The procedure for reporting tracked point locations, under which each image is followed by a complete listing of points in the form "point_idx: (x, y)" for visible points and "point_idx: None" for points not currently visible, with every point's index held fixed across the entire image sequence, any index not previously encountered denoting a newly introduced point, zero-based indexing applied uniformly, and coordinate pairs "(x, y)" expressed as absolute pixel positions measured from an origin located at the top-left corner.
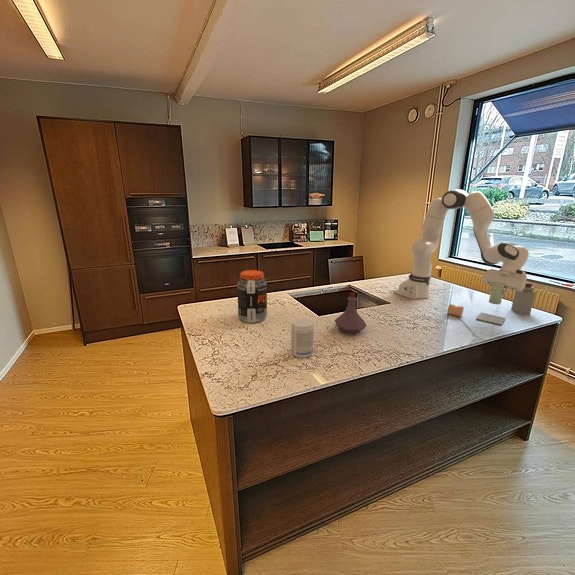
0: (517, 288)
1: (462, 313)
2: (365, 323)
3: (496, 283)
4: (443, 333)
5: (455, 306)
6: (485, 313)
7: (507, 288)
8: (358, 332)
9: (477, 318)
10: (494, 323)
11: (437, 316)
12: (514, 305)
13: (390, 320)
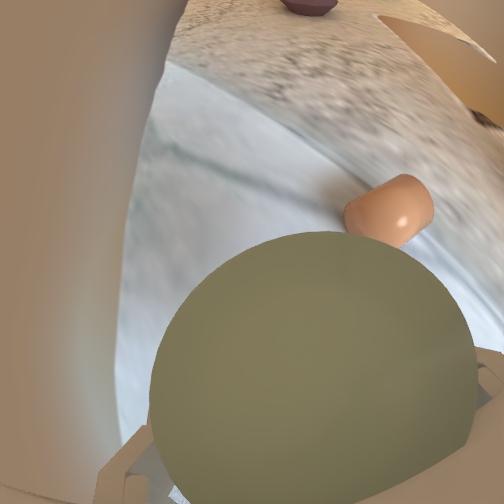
0: (4, 485)
1: None
2: (299, 3)
3: (354, 322)
4: (230, 89)
5: (393, 189)
6: None
7: (144, 478)
8: (294, 12)
9: None
10: None
11: (373, 154)
12: None
13: (349, 53)
